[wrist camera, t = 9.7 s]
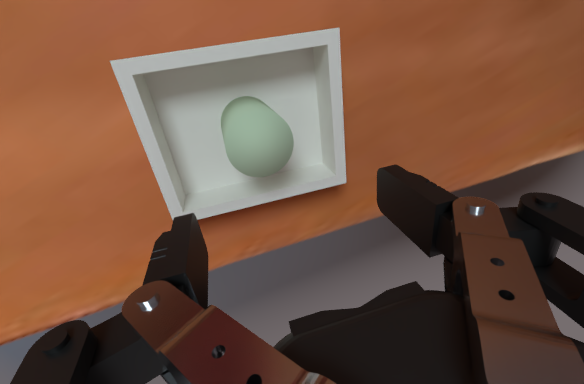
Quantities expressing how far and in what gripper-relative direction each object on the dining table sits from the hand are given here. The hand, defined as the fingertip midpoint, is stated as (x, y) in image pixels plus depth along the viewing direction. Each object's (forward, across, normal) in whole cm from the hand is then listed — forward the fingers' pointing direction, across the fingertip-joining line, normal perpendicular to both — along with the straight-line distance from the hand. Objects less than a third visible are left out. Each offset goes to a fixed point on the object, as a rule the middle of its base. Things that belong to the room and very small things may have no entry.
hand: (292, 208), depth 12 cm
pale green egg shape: (+16, 0, 0) cm, 16 cm away
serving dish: (+16, 0, 0) cm, 16 cm away
